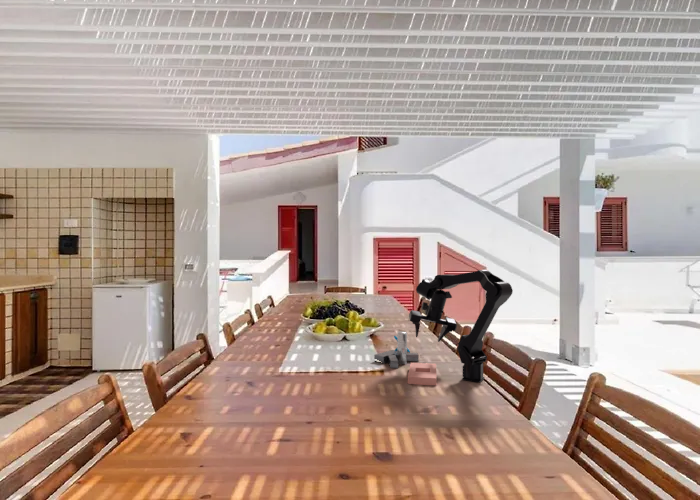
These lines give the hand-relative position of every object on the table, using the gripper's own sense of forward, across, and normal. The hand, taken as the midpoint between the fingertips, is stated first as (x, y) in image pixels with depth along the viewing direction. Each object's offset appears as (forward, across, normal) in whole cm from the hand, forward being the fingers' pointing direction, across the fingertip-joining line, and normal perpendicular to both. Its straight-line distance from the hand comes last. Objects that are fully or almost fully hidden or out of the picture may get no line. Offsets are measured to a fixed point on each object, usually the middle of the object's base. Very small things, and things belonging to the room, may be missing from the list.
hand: (427, 339), depth 182 cm
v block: (+15, +10, -3) cm, 18 cm away
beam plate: (+8, +2, +17) cm, 19 cm away
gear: (+19, +4, -21) cm, 28 cm away
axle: (+14, +7, -1) cm, 15 cm away
